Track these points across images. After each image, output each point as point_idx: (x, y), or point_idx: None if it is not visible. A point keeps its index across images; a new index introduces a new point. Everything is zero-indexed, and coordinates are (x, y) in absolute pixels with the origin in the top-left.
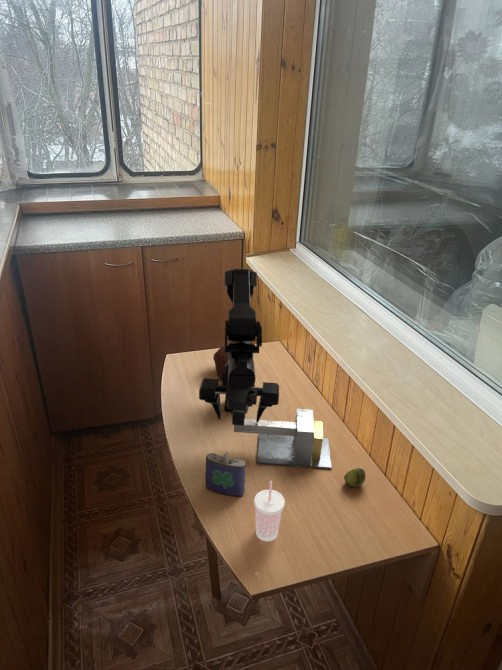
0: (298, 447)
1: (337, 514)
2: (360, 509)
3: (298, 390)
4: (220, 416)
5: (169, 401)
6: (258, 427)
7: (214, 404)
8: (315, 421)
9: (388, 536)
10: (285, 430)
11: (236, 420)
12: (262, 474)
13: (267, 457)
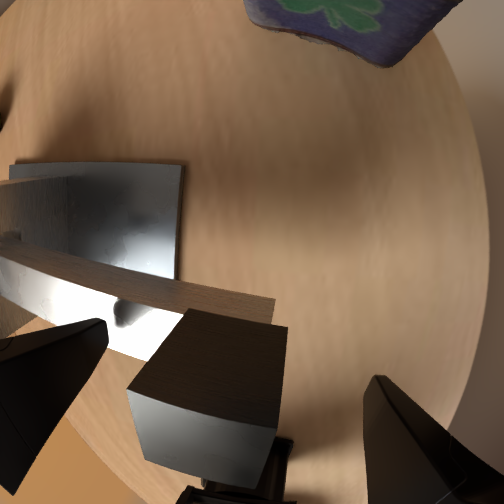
0: (15, 182)
1: (42, 26)
2: (10, 57)
3: (108, 445)
4: (377, 396)
5: None
6: (106, 286)
7: (489, 485)
8: None
9: (8, 21)
10: (17, 254)
11: (243, 347)
12: (170, 107)
13: (141, 195)
